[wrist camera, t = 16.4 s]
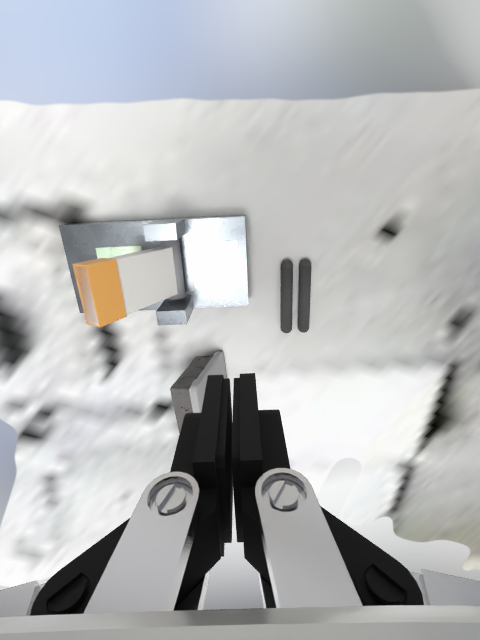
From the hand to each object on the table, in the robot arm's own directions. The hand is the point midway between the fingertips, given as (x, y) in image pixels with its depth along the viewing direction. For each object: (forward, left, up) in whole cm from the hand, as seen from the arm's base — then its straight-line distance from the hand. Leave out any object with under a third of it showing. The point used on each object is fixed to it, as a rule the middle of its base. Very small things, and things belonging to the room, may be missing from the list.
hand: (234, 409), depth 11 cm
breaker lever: (+7, 0, -25) cm, 26 cm away
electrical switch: (+5, +17, -29) cm, 34 cm away
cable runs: (-7, +5, -29) cm, 30 cm away
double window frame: (+9, 0, -29) cm, 30 cm away
